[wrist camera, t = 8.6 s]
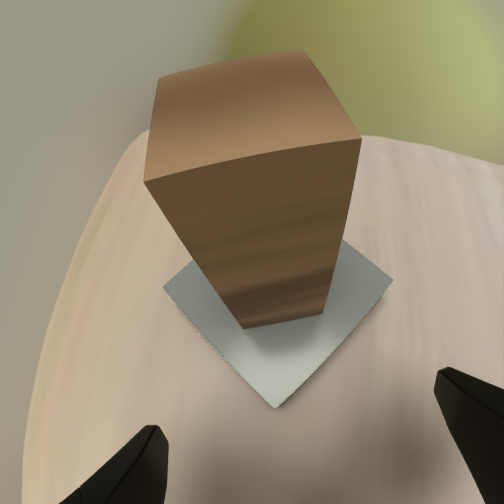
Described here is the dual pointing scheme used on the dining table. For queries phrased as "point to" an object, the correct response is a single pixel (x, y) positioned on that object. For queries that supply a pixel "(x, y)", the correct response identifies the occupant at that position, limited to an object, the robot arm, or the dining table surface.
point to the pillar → (255, 179)
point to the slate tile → (282, 325)
